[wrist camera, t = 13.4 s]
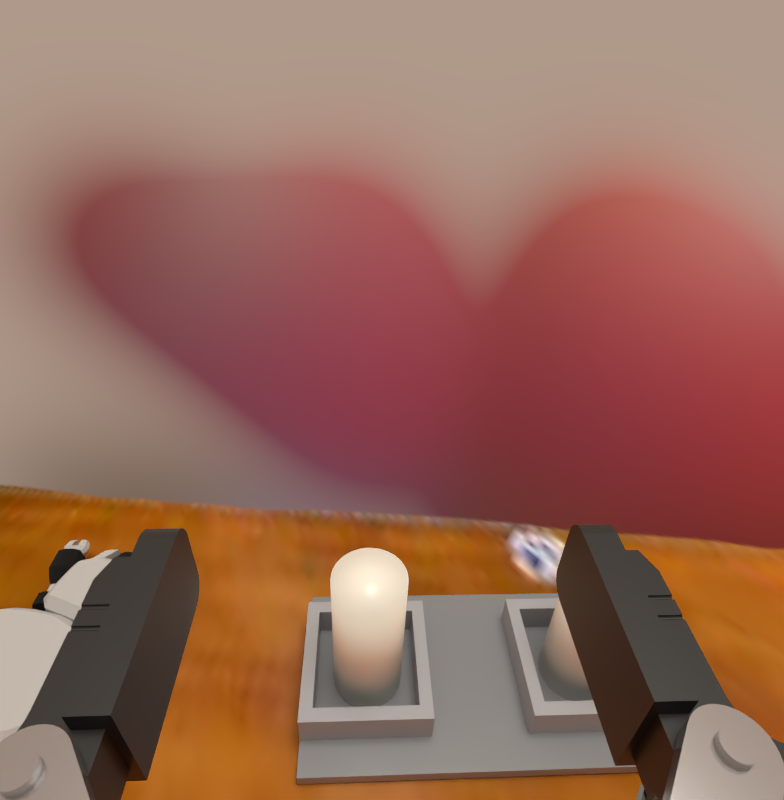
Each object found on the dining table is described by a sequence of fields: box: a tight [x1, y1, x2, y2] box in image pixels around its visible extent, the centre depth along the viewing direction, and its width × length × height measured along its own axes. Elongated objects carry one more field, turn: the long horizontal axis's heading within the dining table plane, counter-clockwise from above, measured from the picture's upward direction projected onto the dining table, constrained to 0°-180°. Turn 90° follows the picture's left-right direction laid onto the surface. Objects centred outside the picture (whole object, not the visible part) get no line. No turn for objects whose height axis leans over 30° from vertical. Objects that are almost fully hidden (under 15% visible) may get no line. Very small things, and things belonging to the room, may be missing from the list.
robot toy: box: [0, 540, 132, 742], centre depth 36 cm, size 12×4×15 cm
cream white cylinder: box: [330, 548, 409, 707], centre depth 33 cm, size 4×4×10 cm
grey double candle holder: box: [296, 593, 638, 784], centre depth 34 cm, size 22×12×11 cm, turn 93°
